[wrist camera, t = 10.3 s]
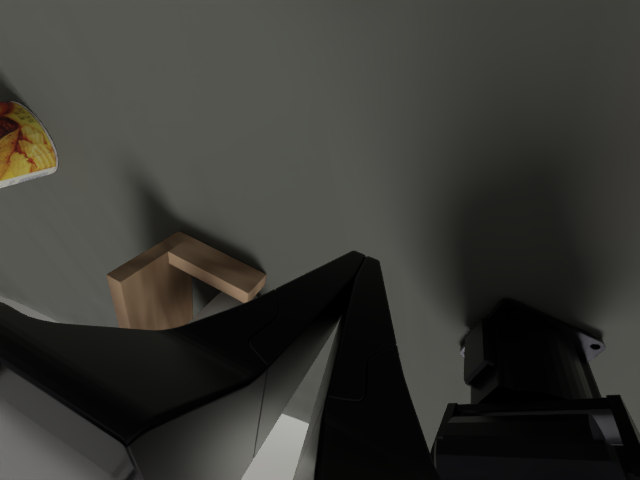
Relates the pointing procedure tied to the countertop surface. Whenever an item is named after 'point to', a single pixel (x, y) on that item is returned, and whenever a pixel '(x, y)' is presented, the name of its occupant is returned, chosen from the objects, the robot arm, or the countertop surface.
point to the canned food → (23, 146)
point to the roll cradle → (175, 282)
